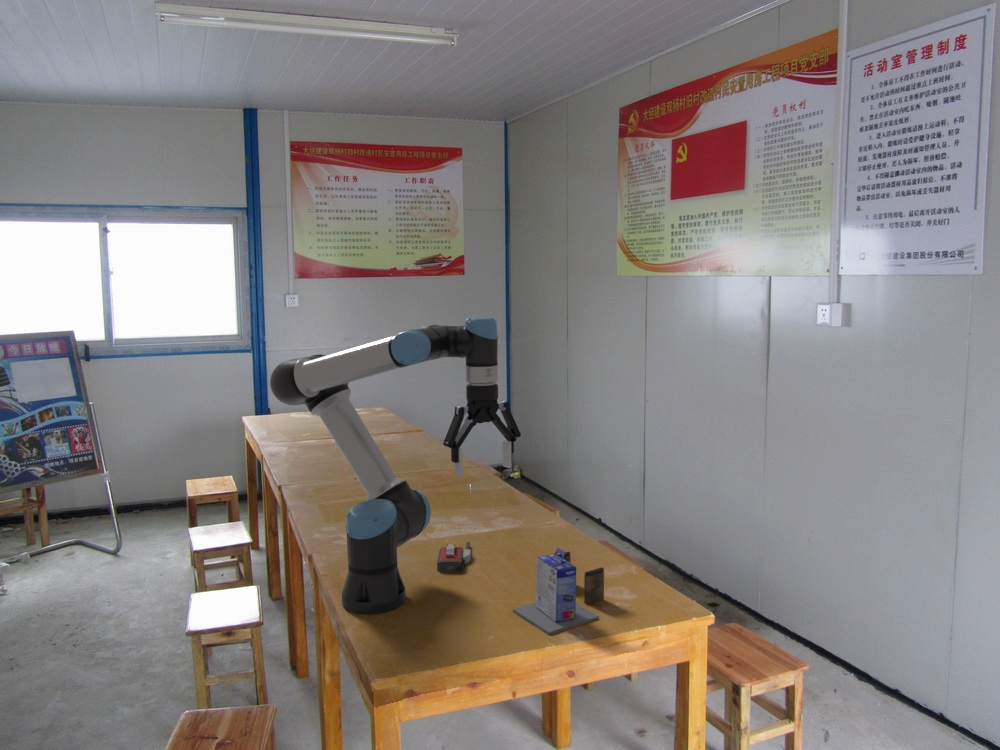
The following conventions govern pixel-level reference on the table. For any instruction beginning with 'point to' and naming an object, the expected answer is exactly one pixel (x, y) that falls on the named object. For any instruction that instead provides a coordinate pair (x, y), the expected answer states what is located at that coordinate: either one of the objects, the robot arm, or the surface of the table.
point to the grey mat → (550, 625)
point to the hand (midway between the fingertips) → (483, 471)
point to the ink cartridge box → (556, 586)
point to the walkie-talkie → (453, 558)
